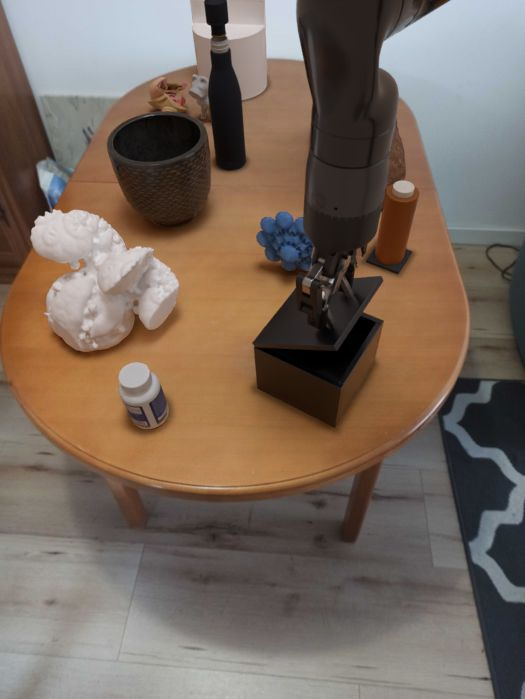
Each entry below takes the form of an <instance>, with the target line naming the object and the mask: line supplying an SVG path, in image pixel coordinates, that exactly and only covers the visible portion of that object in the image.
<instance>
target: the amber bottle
mask: <svg viewBox="0 0 525 699" xmlns="http://www.w3.org/2000/svg"><path fill="white" fill-rule="evenodd" d="M419 197H420V191H419V189H418V188H417V187H416V186H415V185H414V183H412V182H411V181H408V180H405V179H404V180H401V181H397V182H395V183H394V184H391V185H390V186H389V187H388V188H387V189H386V194H385V200H384V205H383V209H382V210H381V215H380V221H379V226H378V234H377V238H376V245H375V247H376V249H375V248H374V249H375V258H376V259H377V261H379V262H380V263H382V264H385V265H397V264H399V263H401V262H402V260H403V259H404V255H405V251H406V249H407V247H408V242H409V237H410V234H411V230H412V226H413V222H414V217H415V213H416V209H417V205H418V202H419Z"/></svg>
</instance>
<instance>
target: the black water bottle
mask: <svg viewBox="0 0 525 699" xmlns="http://www.w3.org/2000/svg"><path fill="white" fill-rule="evenodd" d="M204 6H205V15H206V23H207V24H208V25H210V26H211V36H212V38H211V41H210V44H211V50H210V56H211V65H212V67H211V72H210V77H209V84H208V100H209V108H210V111H209V114H210V121H211V122H210V124H211V130H212V140H213V148H214V156H215V162H216V166H217V168H220V169H222V170H224V171H236V170H239V169H241V168H243V167H244V166H245V165H246V163H247V155H246V154H247V153H246V138H245V126H244V113H243V111H244V110H243V100H242V96H241V90H240V86H239V82H238V79H237V76H236V74H235V71H234V69H233V66H232V59H231V50H230V48H229V44H228V43H229V40H228V38H227V36H225V35H226V30H225V24H227V23H228V22H229V19H228V6H227V0H205V1H204Z"/></svg>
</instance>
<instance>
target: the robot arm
mask: <svg viewBox="0 0 525 699" xmlns="http://www.w3.org/2000/svg"><path fill="white" fill-rule="evenodd" d="M451 1H452V0H295V18H296V19H295V20H296V21H295V22H296V27H297V34H298V38H299V44H300V47H301V49H300V50H301V55H302V59H303V63H304V69H305V74H306V79H307V84H308V87H309V91H310V96H311V101H312V104H311V113H310V115H311V116H310V134H309V146H308V147H309V149H308V154H307V158H306V163H305V175H304V176H305V177H304V194H303V213H302V214H303V215H302V217H303V228H304V231H305V233H306V235H307V237H308V238H309V239H310V241H311V242H312V244H313V245H314V248H313V251H312V255H311V259H312V260H311V266H310V270H309V271H308V272H307V274H306V273H304V272H302V271H300V272H298V274H297V275H296V277H295V288H296V298H297V310H298V311H301V312H303V313H305V314H307V315H308V317H307V322H308V325H310V326H313V327H315V328H317V329H320V330H323V329H324V328H325V326H326V325H327V317H328V308H329V303H330V300H331V297H332V294H334V293H335V292H337V291H340V292H343V293H345V292H344V290H343V288H342V286H341V284H340V283H341V280H342V277H343V274H344V271H345V269H347V272H346V274H345V276H346V278H347V280H348V282H349V285H350V287H351V289H352V285H353V279H354V278H355V272H356V270H357V269H358V268H359V266H360V260H361V258H363V257H365V255H366V254H367V248H368V244H370V243H371V241H372V240H374V238H375V237H376V235H377V232H378V229H379V224H380V219H381V214H382V209H381V208H382V203H383V198H384V193H385V188H386V183H387V178H388V172H389V154H390V148H391V143H392V138H393V133H394V128H395V122H396V117H397V116H398V110H399V103H400V102H399V101H400V92H399V86H398V83H397V81H396V79H395V78H394V77H393V75H392V74H391V73H389V72H388V71H387V70H386V69H383V67H382V68H381V67H380V56H381V52H382V48H383V44H384V42H386V41H387V40H388V39H390V38H392V37H393V36H395V35H397V34H398V33H400V32H402V31H403V30H405V29H406V28H408V27H410V26H411V25H413V24H415V23H416V22H418V21H420V20H421V19H423V18H424V17H426V16H428V15H429V14H431V13H433V12H434V11H436V10H438V9H439V8H441V7H443V6H444V5H446V4H448V3H449V2H451ZM322 276H324V277H327V278H329V279H334V280H333V283H329V282H327V281H325V280H322V279H321V277H322ZM322 291H324V293H325V295H324V299H322Z"/></svg>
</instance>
